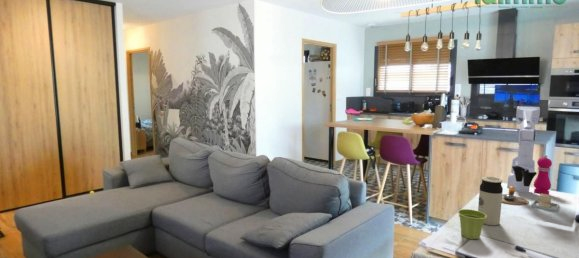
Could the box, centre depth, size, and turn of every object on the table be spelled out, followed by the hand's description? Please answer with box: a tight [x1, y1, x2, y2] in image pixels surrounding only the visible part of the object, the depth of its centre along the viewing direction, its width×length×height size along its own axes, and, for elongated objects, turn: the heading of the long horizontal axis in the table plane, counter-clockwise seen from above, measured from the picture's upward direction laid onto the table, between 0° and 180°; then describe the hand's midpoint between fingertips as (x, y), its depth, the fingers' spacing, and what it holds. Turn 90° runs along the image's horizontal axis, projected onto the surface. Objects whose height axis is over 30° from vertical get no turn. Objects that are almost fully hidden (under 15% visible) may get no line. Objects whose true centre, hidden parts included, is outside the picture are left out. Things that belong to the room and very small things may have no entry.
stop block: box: [538, 194, 552, 208], centre depth 160 cm, size 4×4×6 cm
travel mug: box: [477, 176, 504, 226], centre depth 145 cm, size 8×8×18 cm
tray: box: [530, 199, 560, 213], centre depth 160 cm, size 9×9×2 cm
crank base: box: [501, 193, 530, 207], centre depth 170 cm, size 16×16×2 cm
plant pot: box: [457, 208, 487, 240], centre depth 133 cm, size 9×9×9 cm
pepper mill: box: [533, 154, 553, 195], centre depth 182 cm, size 7×7×20 cm
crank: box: [504, 186, 516, 200], centre depth 171 cm, size 9×4×4 cm, turn 139°
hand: (522, 183), depth 168 cm, fingers open, 7 cm apart
